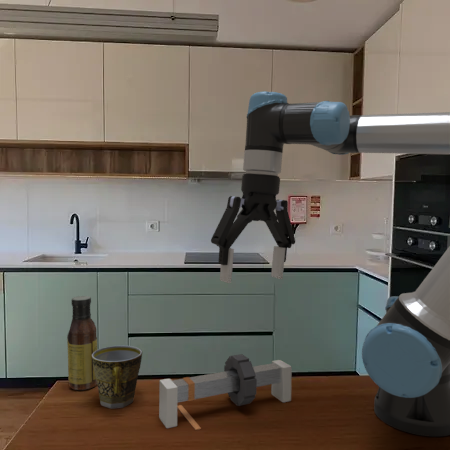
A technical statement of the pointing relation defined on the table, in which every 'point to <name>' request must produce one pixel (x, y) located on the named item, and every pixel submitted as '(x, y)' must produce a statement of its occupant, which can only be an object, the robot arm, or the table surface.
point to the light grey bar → (223, 382)
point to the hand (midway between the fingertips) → (252, 279)
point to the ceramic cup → (117, 374)
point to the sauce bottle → (81, 345)
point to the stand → (170, 413)
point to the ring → (242, 379)
